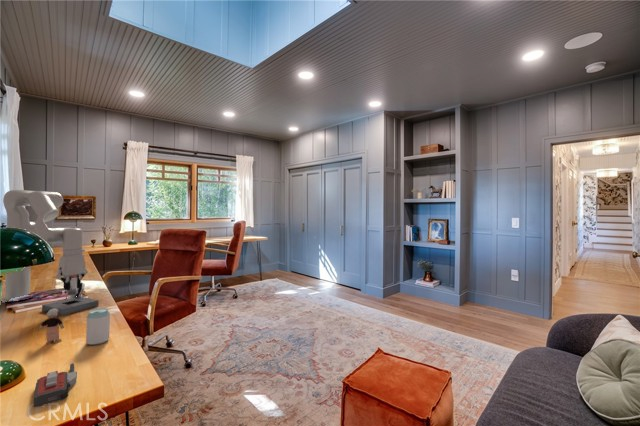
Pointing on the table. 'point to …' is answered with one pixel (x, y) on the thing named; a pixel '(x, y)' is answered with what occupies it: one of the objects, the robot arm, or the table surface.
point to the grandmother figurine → (52, 326)
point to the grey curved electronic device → (78, 291)
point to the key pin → (73, 285)
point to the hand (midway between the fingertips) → (72, 288)
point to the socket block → (71, 305)
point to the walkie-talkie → (54, 386)
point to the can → (97, 326)
